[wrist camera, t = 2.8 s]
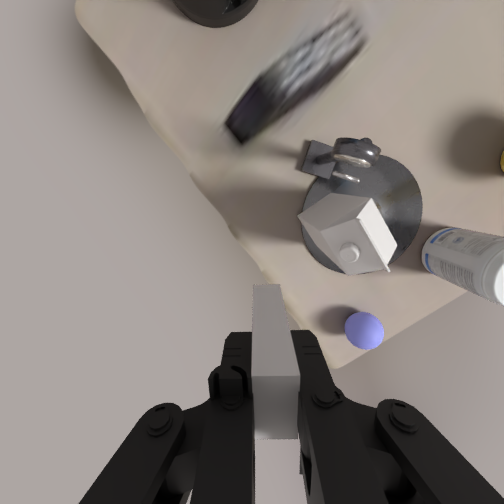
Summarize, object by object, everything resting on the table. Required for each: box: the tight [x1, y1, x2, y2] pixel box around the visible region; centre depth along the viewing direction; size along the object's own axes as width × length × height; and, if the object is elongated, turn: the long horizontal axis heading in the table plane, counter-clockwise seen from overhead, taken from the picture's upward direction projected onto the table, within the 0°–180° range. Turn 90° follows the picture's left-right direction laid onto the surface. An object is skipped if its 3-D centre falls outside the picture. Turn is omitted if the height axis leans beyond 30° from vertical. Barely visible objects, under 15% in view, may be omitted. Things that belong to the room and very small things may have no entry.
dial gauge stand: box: [301, 138, 381, 183], centre depth 33 cm, size 5×6×18 cm
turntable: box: [301, 155, 422, 274], centre depth 44 cm, size 22×22×1 cm
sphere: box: [345, 312, 384, 350], centre depth 47 cm, size 7×7×7 cm
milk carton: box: [297, 193, 397, 276], centre depth 35 cm, size 7×7×19 cm
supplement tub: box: [422, 227, 504, 306], centre depth 39 cm, size 10×10×15 cm
